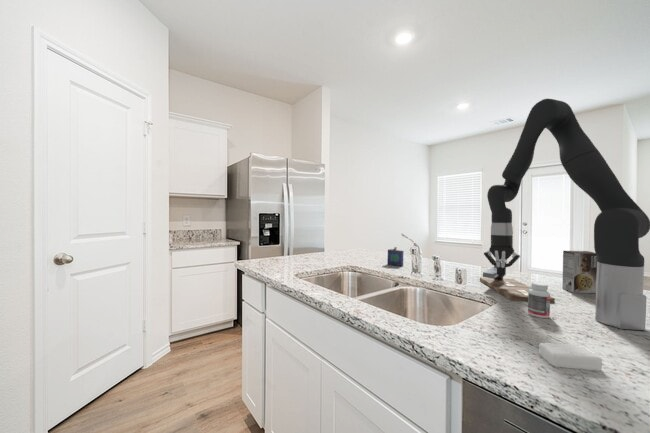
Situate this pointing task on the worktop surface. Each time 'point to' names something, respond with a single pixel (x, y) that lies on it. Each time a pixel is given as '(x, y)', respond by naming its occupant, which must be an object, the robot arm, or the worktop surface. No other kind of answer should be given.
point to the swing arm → (492, 273)
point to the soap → (570, 356)
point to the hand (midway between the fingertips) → (501, 276)
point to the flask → (395, 257)
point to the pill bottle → (539, 300)
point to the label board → (510, 288)
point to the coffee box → (579, 271)
